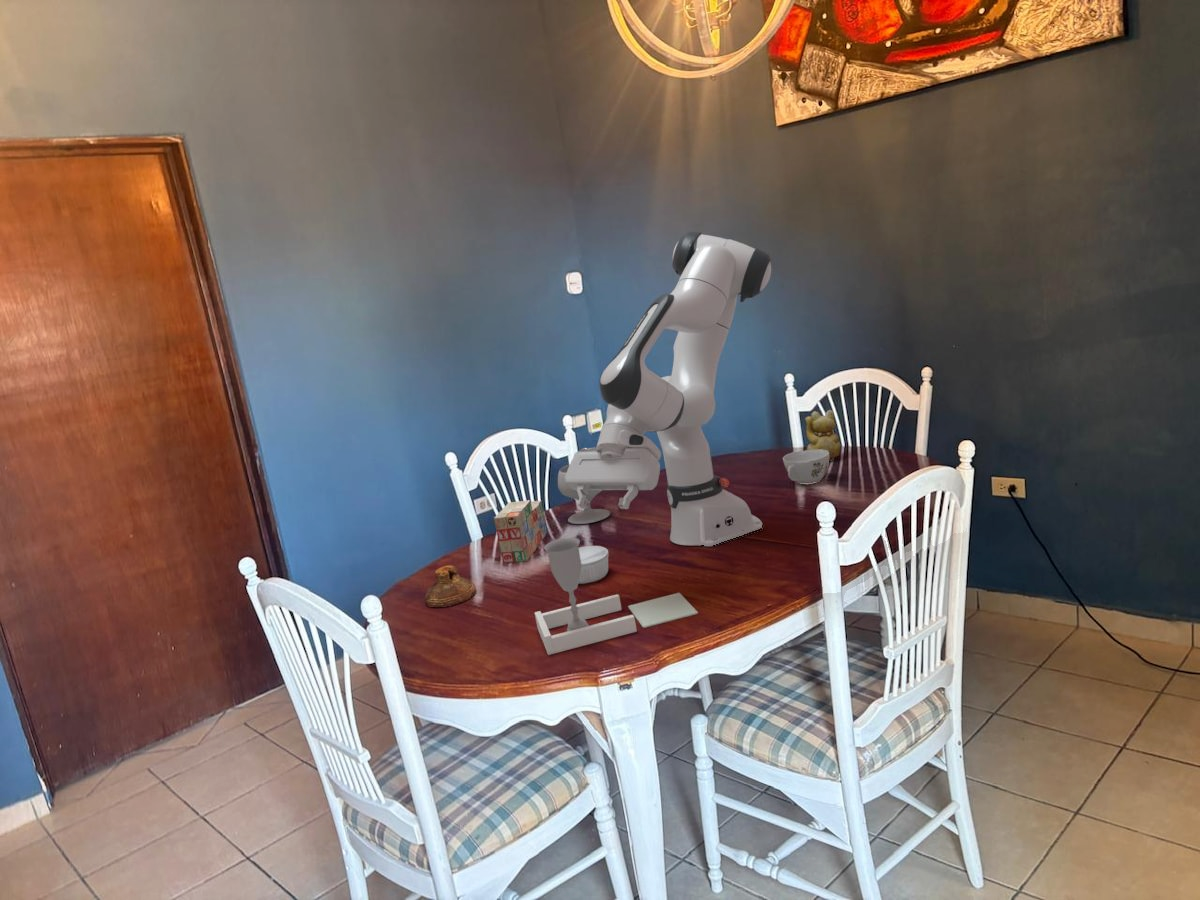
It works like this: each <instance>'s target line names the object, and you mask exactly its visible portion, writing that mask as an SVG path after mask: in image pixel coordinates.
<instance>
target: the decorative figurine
mask: <svg viewBox="0 0 1200 900" xmlns="http://www.w3.org/2000/svg"><path fill="white" fill-rule="evenodd" d="M804 421H805V422H806V438H807V439H808V441H809V442H810V443H809V444H808V445H807V448H806V450H818V449H822V450H826V451H828V452H829V460H832V461H833V459H834V458H836V457H837V456H839V455H840V451H841V449H842V447H841V442H840V441H839V440H840V439H839V435H838V434H837V433H835V431H834V429H835V427H836V422H835V414H834V411H833V410H832V409H829V410H826V412H825V415H821V414H820V412H818V411H816V410H814V411H813V412H812V413H811V415H810V416H806V417H805V418H804ZM832 458H833V459H832Z"/></svg>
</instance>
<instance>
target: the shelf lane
mask: <svg viewBox="0 0 1200 900" xmlns="http://www.w3.org/2000/svg"><path fill="white" fill-rule="evenodd" d="M620 598H621V597H620V595H619V594H617V593H616V594H613V595H610V596H609V595H608V596H606V597H601V598H598V599H593V600H589V601H586V602H585V601H584V602H581V603H578V604H576V606H577V607H578V608H579V609H578V613H577V614H578V617H580V618H583V619H584V620H585V621H586V620H588V619H592V618H596V617H599V616H603V615H604V616H605V615H607V614H608V615H609V614H611V613H616V612H619V611H620V612H621V611H623V610H622V603H621V599H620ZM570 609H571V605H570V606H566V607H562V608H558V609H554V610H550V611H546V612H543V613H542V612H541V610H539V611H535V612H534V616H535V622H536V627H537V630H538V634H539V636H540V639H541V641H542V644H543V646H544V648H545V650H546V653H547V655H548V656H550V655H554V654H558V653H561V652H562V653H563V652H565V651H568V650H572V649H576V648H580V647H583V646H584V647H585V646H587V645H591V644H595V643H599V642H603V641H606V640H610V639H614V638H618V637H621V636H625V635H628V634H629V635H630V634H634V633H636V632H638V631H637V625H636V620H635V619H636V617H635V616H634V615H633V614H630V615H625V616H620V617H617V618H614V619H611V620H606V621H602V622H599V623H598V622H597V623H595V624H591V625H589V626H587V627H583V628H579V629H575V630H571V631H567V630H566V631H564V632H560V633H557V634H553V635H552V634H551V633H550V629H553V628H557V627H561V626H562V627H563V626H566V625H568V623H569V622H570V621H571V620H572V619H573V613H572V611H570Z"/></svg>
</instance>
